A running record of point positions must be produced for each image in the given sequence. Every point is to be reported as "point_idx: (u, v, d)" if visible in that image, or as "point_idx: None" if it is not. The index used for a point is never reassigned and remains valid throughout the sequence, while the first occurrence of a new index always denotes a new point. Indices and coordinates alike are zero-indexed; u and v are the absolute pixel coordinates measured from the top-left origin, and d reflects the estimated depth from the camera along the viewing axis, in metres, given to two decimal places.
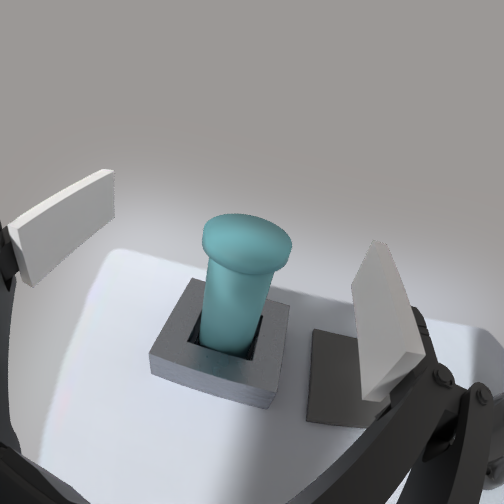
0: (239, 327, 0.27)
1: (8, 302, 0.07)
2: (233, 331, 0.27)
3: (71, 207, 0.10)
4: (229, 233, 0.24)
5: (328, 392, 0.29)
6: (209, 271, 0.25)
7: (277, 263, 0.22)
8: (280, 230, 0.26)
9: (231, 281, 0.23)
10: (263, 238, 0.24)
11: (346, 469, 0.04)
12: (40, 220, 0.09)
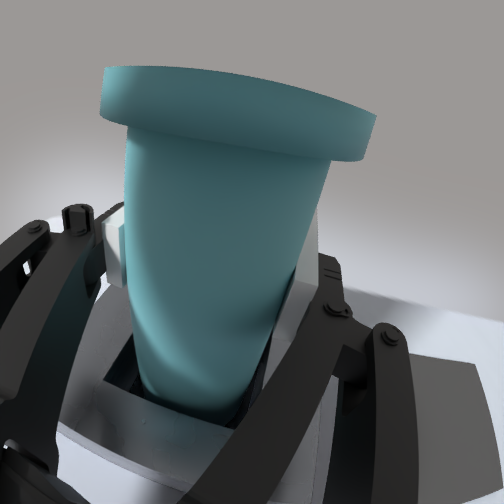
0: (215, 361, 0.09)
1: (85, 310, 0.08)
2: (200, 371, 0.09)
3: None
4: None
5: None
6: (124, 194, 0.08)
7: (352, 125, 0.05)
8: None
9: (173, 204, 0.06)
10: None
11: (247, 413, 0.05)
12: None
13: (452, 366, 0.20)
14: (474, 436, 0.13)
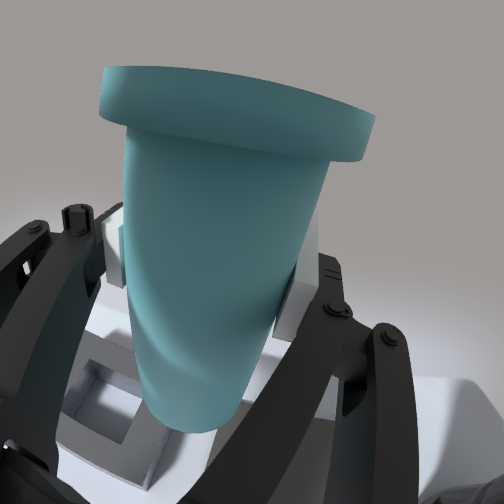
0: (213, 361, 0.09)
1: (85, 310, 0.08)
2: (198, 370, 0.09)
3: None
4: None
5: None
6: (123, 194, 0.08)
7: (351, 126, 0.05)
8: None
9: (172, 204, 0.06)
10: None
11: (247, 413, 0.05)
12: None
13: (313, 422, 0.28)
14: (312, 482, 0.21)
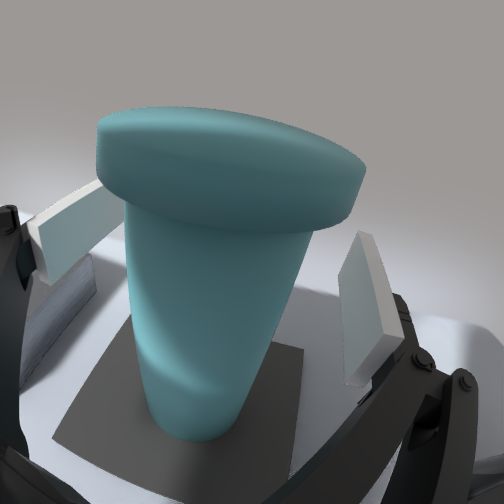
0: (213, 386, 0.10)
1: (23, 302, 0.07)
2: (199, 393, 0.10)
3: (89, 205, 0.11)
4: (177, 120, 0.07)
5: (106, 407, 0.14)
6: (125, 240, 0.08)
7: (338, 195, 0.06)
8: (319, 137, 0.09)
9: (171, 264, 0.07)
10: (280, 137, 0.08)
11: (327, 456, 0.04)
12: (60, 218, 0.09)
13: None
14: (244, 432, 0.15)
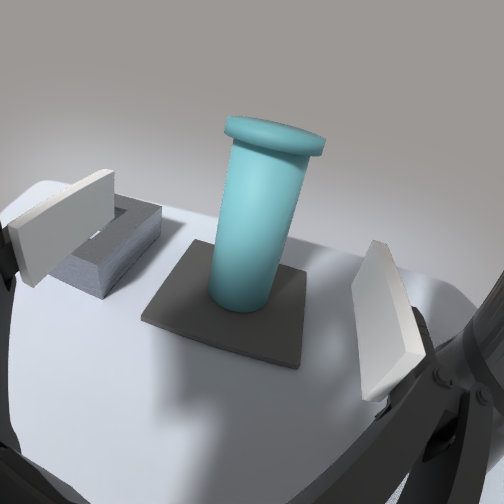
0: (265, 241, 0.22)
1: (8, 302, 0.07)
2: (257, 247, 0.22)
3: (71, 207, 0.10)
4: (256, 122, 0.20)
5: (181, 295, 0.26)
6: (230, 168, 0.21)
7: (314, 145, 0.18)
8: (309, 132, 0.22)
9: (259, 169, 0.19)
10: (293, 130, 0.20)
11: (346, 469, 0.04)
12: (40, 220, 0.09)
13: None
14: (271, 310, 0.27)
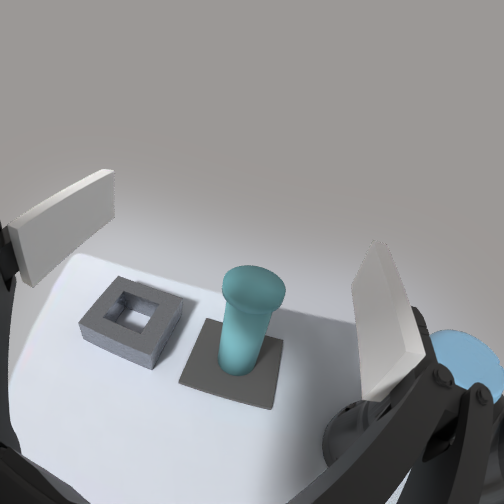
0: (249, 346, 0.37)
1: (8, 302, 0.07)
2: (245, 349, 0.37)
3: (71, 207, 0.10)
4: (241, 284, 0.34)
5: (201, 365, 0.41)
6: (227, 310, 0.35)
7: (275, 306, 0.33)
8: (277, 278, 0.36)
9: (244, 317, 0.34)
10: (265, 287, 0.34)
11: (346, 469, 0.04)
12: (40, 220, 0.09)
13: None
14: (257, 372, 0.42)
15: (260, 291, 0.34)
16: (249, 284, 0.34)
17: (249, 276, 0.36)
